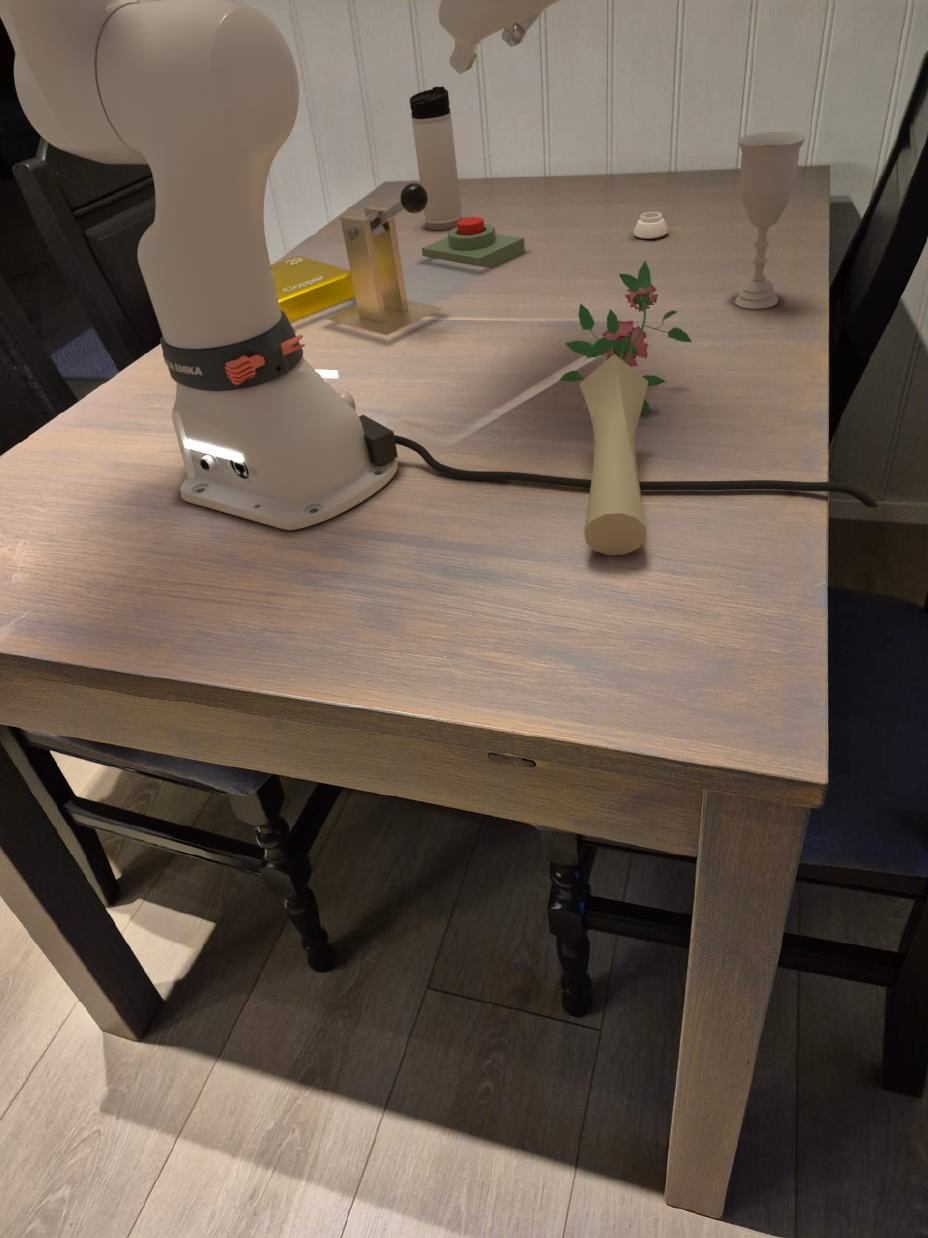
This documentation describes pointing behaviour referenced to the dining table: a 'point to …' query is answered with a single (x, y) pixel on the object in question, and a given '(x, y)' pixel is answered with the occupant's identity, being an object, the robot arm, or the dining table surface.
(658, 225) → the white jar
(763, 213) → the chalice
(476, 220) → the button
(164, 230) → the robot arm
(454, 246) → the button block
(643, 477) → the dining table surface
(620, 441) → the flower vase
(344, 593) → the dining table surface
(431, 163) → the travel mug
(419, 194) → the lever
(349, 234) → the bracket
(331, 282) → the element tile
